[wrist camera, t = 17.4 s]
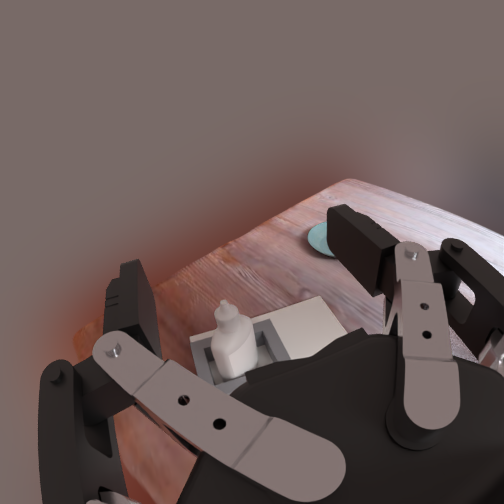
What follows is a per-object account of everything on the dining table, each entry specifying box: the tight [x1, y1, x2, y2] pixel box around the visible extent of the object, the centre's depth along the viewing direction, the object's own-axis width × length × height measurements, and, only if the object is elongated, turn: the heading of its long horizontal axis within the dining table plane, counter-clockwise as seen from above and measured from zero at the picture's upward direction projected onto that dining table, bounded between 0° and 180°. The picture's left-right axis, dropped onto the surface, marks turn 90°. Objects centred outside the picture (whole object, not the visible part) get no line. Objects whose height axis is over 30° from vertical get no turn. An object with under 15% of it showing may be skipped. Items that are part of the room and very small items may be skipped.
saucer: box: [308, 222, 335, 257], centre depth 55 cm, size 12×12×2 cm
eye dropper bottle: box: [211, 300, 258, 383], centre depth 32 cm, size 4×6×12 cm
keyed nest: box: [190, 295, 348, 395], centre depth 36 cm, size 20×16×4 cm
